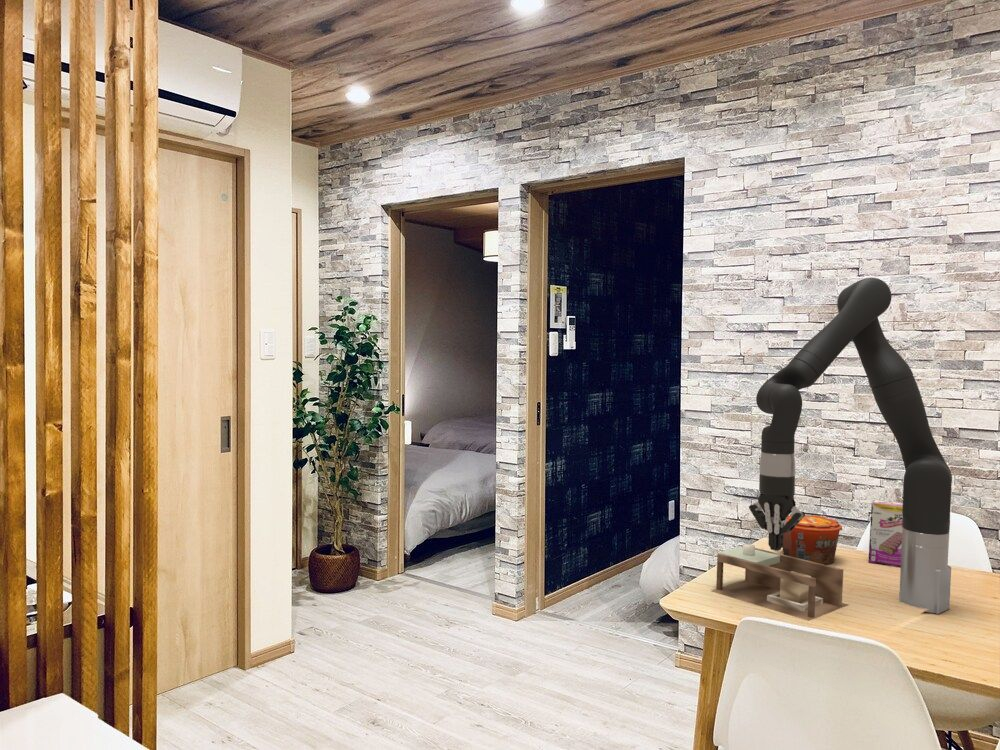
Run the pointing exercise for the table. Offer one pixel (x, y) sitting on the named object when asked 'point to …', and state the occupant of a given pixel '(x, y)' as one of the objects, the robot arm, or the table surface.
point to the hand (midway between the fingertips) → (775, 549)
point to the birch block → (794, 590)
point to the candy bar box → (886, 533)
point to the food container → (812, 539)
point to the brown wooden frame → (766, 585)
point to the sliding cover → (752, 555)
